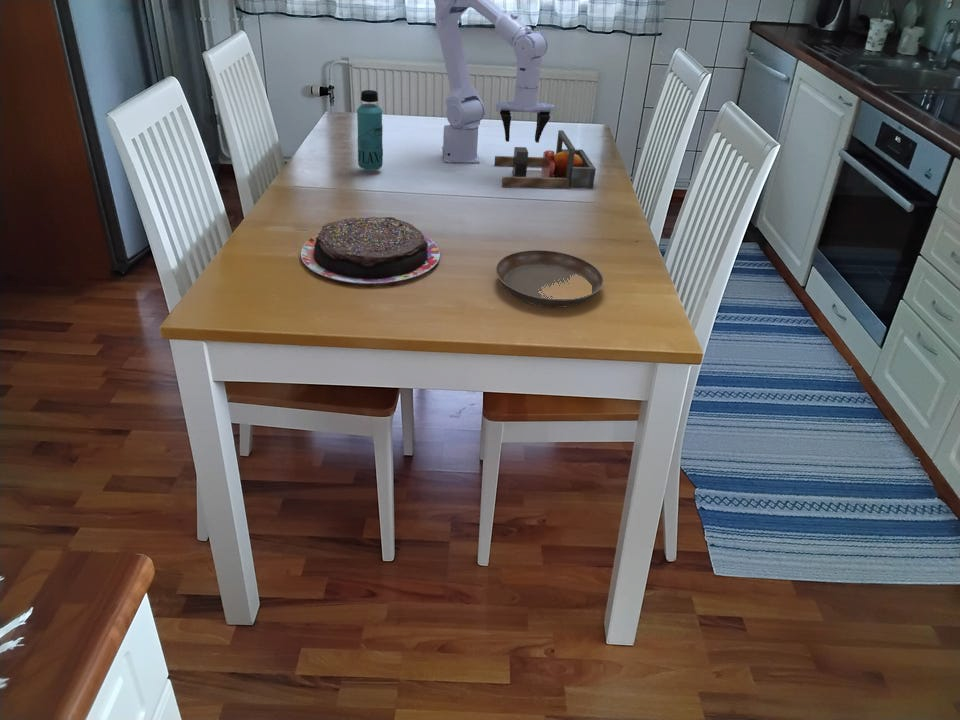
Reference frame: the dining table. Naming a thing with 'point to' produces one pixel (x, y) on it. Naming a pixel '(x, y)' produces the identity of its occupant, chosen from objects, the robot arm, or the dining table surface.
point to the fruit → (564, 163)
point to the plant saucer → (545, 275)
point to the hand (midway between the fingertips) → (521, 140)
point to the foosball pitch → (574, 178)
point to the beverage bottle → (369, 132)
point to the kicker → (522, 160)
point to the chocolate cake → (370, 252)
